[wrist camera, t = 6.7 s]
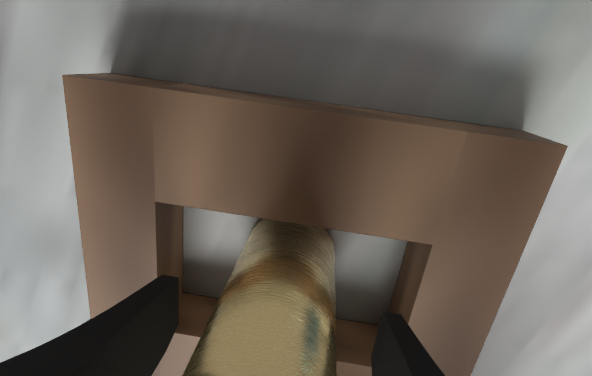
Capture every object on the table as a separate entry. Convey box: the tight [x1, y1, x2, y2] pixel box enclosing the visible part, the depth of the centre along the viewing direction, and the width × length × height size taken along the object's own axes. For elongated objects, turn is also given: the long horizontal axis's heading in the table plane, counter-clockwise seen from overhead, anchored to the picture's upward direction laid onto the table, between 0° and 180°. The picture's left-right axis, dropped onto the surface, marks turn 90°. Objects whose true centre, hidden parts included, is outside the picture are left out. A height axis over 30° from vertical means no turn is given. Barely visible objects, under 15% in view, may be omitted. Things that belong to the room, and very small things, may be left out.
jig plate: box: [62, 73, 568, 376], centre depth 14 cm, size 16×14×2 cm
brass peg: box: [182, 219, 337, 376], centre depth 12 cm, size 4×4×8 cm
